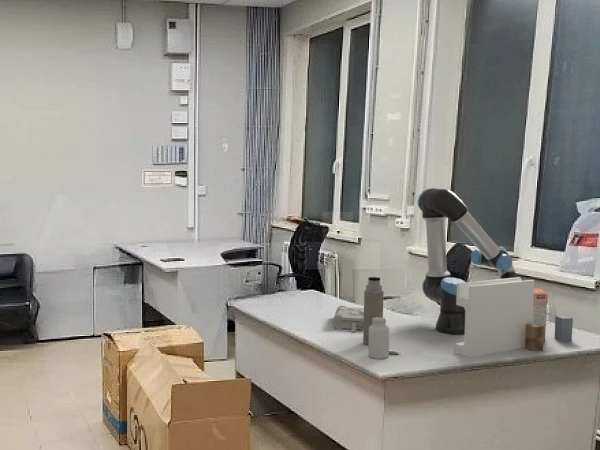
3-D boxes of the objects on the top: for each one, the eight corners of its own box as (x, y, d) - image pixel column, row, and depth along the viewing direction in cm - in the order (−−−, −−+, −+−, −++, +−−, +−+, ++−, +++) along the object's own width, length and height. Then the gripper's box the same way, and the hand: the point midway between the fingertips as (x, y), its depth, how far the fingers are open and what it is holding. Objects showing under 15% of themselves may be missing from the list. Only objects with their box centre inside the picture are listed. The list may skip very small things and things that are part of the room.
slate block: (561, 341, 264) (562, 318, 264) (554, 338, 269) (555, 315, 269) (571, 340, 265) (572, 318, 264) (564, 337, 270) (565, 315, 269)
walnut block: (531, 351, 249) (532, 326, 248) (525, 347, 254) (526, 323, 253) (543, 350, 250) (544, 326, 249) (536, 347, 255) (537, 323, 254)
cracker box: (546, 341, 263) (548, 293, 261) (531, 341, 264) (533, 293, 263) (539, 333, 277) (542, 288, 275) (525, 332, 278) (527, 287, 276)
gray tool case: (330, 332, 276) (331, 315, 276) (336, 317, 304) (336, 302, 303) (373, 335, 273) (374, 318, 273) (375, 320, 301) (375, 305, 300)
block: (468, 357, 239) (471, 286, 237) (454, 351, 246) (456, 283, 244) (531, 346, 256) (534, 280, 254) (516, 341, 263) (518, 277, 261)
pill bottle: (366, 353, 242) (367, 316, 241) (386, 353, 243) (387, 316, 242) (370, 359, 234) (371, 321, 233) (390, 359, 235) (391, 321, 234)
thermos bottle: (365, 340, 262) (366, 275, 260) (383, 342, 259) (385, 276, 257) (361, 344, 254) (362, 278, 252) (380, 346, 252) (381, 279, 250)
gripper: (517, 279, 299) (534, 321, 284) (492, 280, 296) (508, 322, 281) (523, 270, 293) (541, 312, 278) (498, 271, 291) (515, 313, 276)
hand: (525, 317), depth 280 cm, fingers closed
